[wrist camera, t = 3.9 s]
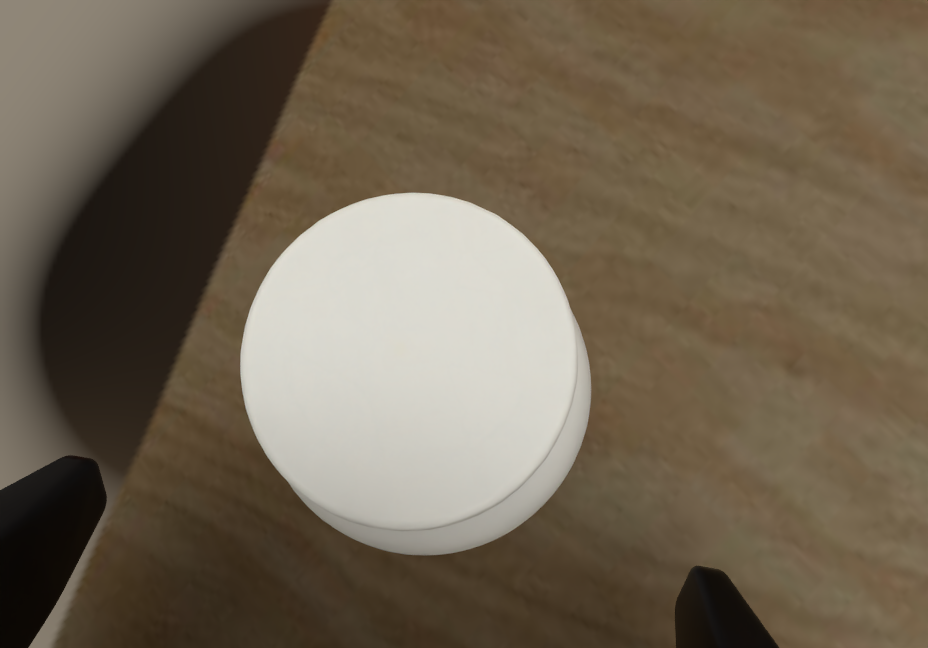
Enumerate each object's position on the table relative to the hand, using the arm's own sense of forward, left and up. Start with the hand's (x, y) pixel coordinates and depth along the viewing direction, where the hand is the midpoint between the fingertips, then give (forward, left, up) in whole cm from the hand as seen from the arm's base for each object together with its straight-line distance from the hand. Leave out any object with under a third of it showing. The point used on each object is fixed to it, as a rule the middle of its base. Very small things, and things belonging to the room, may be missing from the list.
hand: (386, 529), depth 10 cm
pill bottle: (+2, +2, -10) cm, 10 cm away
